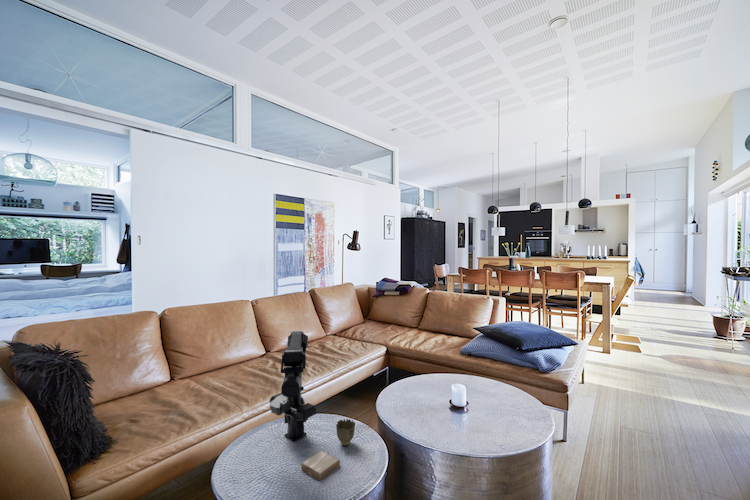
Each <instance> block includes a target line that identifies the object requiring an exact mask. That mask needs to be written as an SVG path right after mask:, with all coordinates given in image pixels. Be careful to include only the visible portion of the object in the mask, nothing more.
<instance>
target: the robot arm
mask: <svg viewBox="0 0 750 500" xmlns="http://www.w3.org/2000/svg"><path fill="white" fill-rule="evenodd" d="M286 345H287V347H285V348H284V351H283V352H282V353H281V364H280V374H284V378H283V380H282V383H281V384H282V385H281V389H280V390H281V391H280V392H279V393H277V394H275V395H272V396H271V397H270V399H269V403H268V405H269V408H270V411H271V413H272V414H274V415H276V416H279V417H280V416H281V415H284V424H287V433H285V434H284V435H283V436H284V437H285V438H287V439H289V440H291V441H292V442H296V441H299V440H300V439H301V438H303V437H305V436H306V435H307V432H305V424H304V423H306V422H307V421H308V420H309V418H311V417H313V416H315V415H317V406H316V405H314V404H311V403H305V399H304V397H303V396H302V391H304V386H303V385H302V384H303V383H302V380H303V373H304V371H305V369H306V367H307V366H306V365H307V355H306V353H307V349H308V348H309V336H308V335H307V334H305V333H304V331H302V330H297V331H296V330H295V331H294V330H293V331H291V332H290V335H288V336H287V344H286Z"/></svg>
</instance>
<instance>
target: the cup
mask: <svg viewBox="0 0 750 500" xmlns="http://www.w3.org/2000/svg"><path fill="white" fill-rule="evenodd" d="M335 425H336V435H337V439H338V440H339V441H340V445H341V446H344V447H347V446H349V445H350V444H351V441H352V440H353V439H354V435H355V429H356V422H355V421H354V420H351V418H350V419H348V418H346V419H345V418H344V419H340V420H338V421H337V424H335Z"/></svg>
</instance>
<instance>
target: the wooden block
mask: <svg viewBox="0 0 750 500" xmlns="http://www.w3.org/2000/svg"><path fill="white" fill-rule="evenodd" d="M340 460H341V459H339V458H337V457H335V456H334V455H332V454H330V453H327V452H326V451H324V450H320V451H318V452H317V453H315V454H314V455H312V456H311V457H309V458H307V459H306V460H304V461H303V462H301V464H300V465H301V471H303V472H304V473H306V474H308V475H310V476H311V477H312V478H314V479H316V480H318V481H321V480H323V479H324V478H326V477H328V475H330V474H331V473H332V472H334V471H336V469H338V468H339V467H340V466H341V465H340V463H341V461H340Z"/></svg>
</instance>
